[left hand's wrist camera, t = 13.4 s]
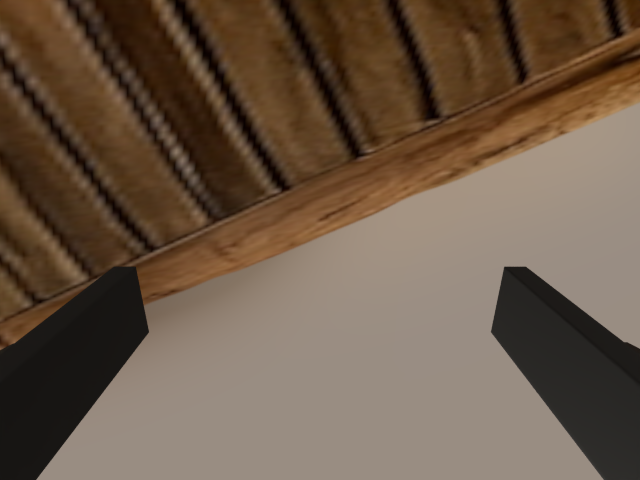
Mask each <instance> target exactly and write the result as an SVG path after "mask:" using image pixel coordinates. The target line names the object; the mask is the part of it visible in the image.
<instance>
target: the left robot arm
mask: <svg viewBox="0 0 640 480" xmlns="http://www.w3.org/2000/svg"><path fill="white" fill-rule="evenodd" d="M148 333H149V330H148V325H147V320H146V315H145V310H144V305H143V300H142V295H141V291H140V286H139V281H138V276H137V271H136V267H113V268H112V269H111V270H109V271H108V272H107V273H105V274H104V275H103V276H101V277H100V278H99V279H98V280H96V281H95V282H94V283H92V284H91V285H90V286H88V287H87V288H86V289H85V290H83V291H82V292H81V293H79V294H78V295H77V296H75V297H74V298H73V299H72V300H70V301H69V302H68V303H66V304H65V305H64V306H62V307H61V308H60V309H59V310H57V311H56V312H55V313H53V314H52V315H51V316H49V317H48V318H47V319H46V320H44V321H43V322H42V323H40V324H39V325H38V326H37V327H35V328H34V329H33V330H31V331H30V332H29V333H27V334H26V335H25V336H24V337H22V338H21V339H20V340H18V341H17V342H16V343H14V344H12V345H10V346H8V347H6V348H4V349H2V350H0V480H36V479H37V478H38V477H39V475H40V474H41V473H42V471H43V470H44V469H45V467H46V466H47V465H48V463H49V462H50V461H51V460H52V458H53V457H54V456H55V454H56V453H57V452H58V450H59V449H60V448H61V447H62V445H63V444H64V443H65V441H66V440H67V439H68V437H69V436H70V435H71V433H72V432H73V431H74V430H75V428H76V427H77V426H78V424H79V423H80V422H81V420H82V419H83V418H84V416H85V415H86V414H87V413H88V411H89V410H90V409H91V407H92V406H93V405H94V403H95V402H96V401H97V399H98V398H99V397H100V395H101V394H102V393H103V392H104V390H105V389H106V388H107V386H108V385H109V384H110V382H111V381H112V380H113V378H114V377H115V376H116V375H117V373H118V372H119V371H120V369H121V368H122V367H123V365H124V364H125V363H126V361H127V360H128V359H129V358H130V356H131V355H132V354H133V352H134V351H135V350H136V348H137V347H138V346H139V344H140V343H141V342H142V340H143V339H144V338H145V337H146V335H147V334H148ZM491 333H492V334H493V335H494V337H495V338H496V339H497V341H498V342H499V343H500V344H501V346H502V347H503V348H504V350H505V351H506V352H507V354H508V355H509V356H510V357H511V359H512V360H513V361H514V363H515V364H516V365H517V367H518V368H519V369H520V371H521V372H522V373H523V375H524V376H525V377H526V378H527V380H528V381H529V382H530V384H531V385H532V386H533V388H534V389H535V390H536V392H537V393H538V394H539V395H540V397H541V398H542V399H543V401H544V402H545V403H546V405H547V406H548V407H549V409H550V410H551V411H552V413H553V414H554V415H555V416H556V418H557V419H558V420H559V422H560V423H561V424H562V426H563V427H564V428H565V430H566V431H567V432H568V433H569V435H570V436H571V437H572V439H573V440H574V441H575V443H576V444H577V445H578V446H579V448H580V449H581V450H582V452H583V453H584V454H585V456H586V457H587V458H588V460H589V461H590V462H591V464H592V465H593V466H594V467H595V469H596V470H597V471H598V473H599V474H600V475H601V477H602V478H603V479H604V480H640V349H639V348H637V347H635V346H633V345H631V344H629V343H627V342H623V341H622V340H620V339H619V338H618V337H616V336H615V335H614V334H612V333H611V332H610V331H609V330H607V329H606V328H605V327H603V326H602V325H601V324H600V323H598V322H597V321H596V320H594V319H593V318H592V317H591V316H589V315H588V314H587V313H585V312H584V311H583V310H581V309H580V308H579V307H578V306H576V305H575V304H574V303H572V302H571V301H570V300H568V299H567V298H566V297H565V296H563V295H562V294H561V293H559V292H558V291H557V290H555V289H554V288H553V287H552V286H550V285H549V284H548V283H546V282H545V281H544V280H542V279H541V278H540V277H539V276H537V275H536V274H535V273H533V272H532V271H531V270H529V269H528V268H527V267H504V271H503V276H502V281H501V286H500V291H499V295H498V300H497V305H496V310H495V315H494V320H493V325H492V330H491Z"/></svg>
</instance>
